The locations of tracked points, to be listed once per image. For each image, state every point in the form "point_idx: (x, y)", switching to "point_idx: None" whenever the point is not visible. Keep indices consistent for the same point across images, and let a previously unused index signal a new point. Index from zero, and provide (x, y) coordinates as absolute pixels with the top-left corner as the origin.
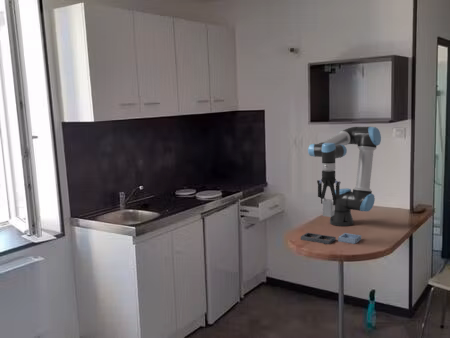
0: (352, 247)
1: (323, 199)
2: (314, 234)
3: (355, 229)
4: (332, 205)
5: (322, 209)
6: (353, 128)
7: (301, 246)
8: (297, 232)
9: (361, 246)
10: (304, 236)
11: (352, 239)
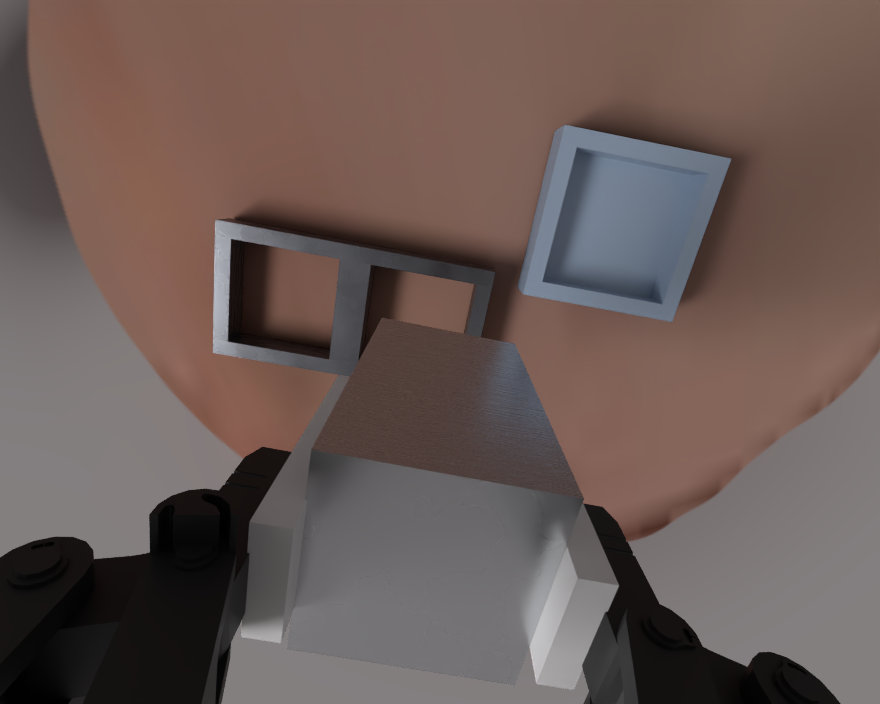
0: (638, 389)
1: (281, 626)
2: (295, 250)
3: None
4: None
5: None
6: None
7: None
8: (93, 127)
9: (703, 344)
10: (244, 349)
11: (649, 317)
